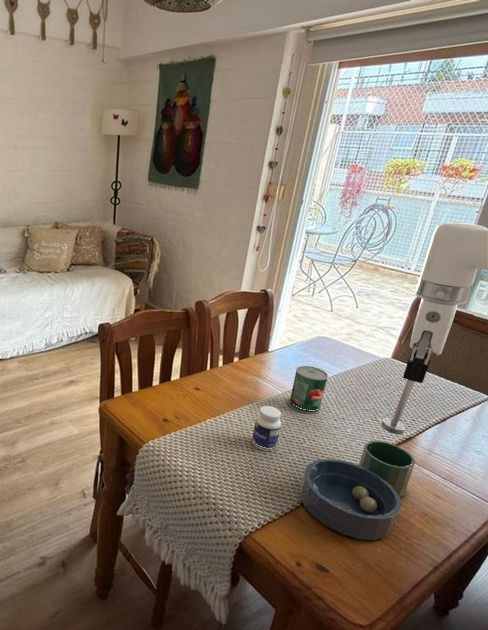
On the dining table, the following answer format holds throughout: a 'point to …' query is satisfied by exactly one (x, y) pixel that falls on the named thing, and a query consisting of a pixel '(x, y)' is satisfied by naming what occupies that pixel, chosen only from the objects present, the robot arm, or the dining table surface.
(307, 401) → the canned tomato
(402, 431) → the black-handled disc rod
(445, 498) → the dining table surface
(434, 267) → the robot arm
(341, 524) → the bowl
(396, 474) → the cup
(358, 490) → the ball
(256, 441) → the pill bottle
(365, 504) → the ball
